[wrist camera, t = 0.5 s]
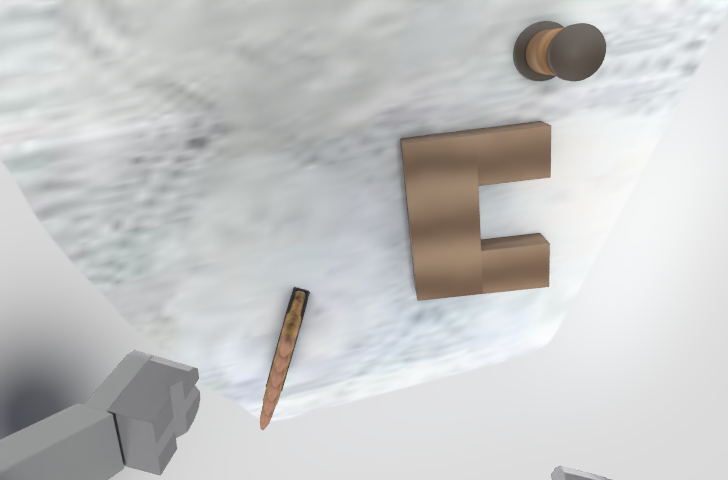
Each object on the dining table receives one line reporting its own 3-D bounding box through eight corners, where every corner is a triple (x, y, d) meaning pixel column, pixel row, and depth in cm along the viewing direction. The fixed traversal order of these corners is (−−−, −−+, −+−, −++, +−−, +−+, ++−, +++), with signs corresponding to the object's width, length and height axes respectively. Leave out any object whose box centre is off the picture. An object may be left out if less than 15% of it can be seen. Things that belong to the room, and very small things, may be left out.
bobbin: (512, 25, 46) (544, 21, 37) (569, 18, 45) (614, 11, 37) (513, 83, 48) (544, 91, 39) (568, 76, 47) (610, 83, 39)
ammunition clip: (288, 365, 60) (269, 438, 49) (273, 362, 60) (251, 434, 49) (309, 291, 56) (294, 351, 45) (294, 286, 56) (275, 346, 45)
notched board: (400, 138, 50) (402, 144, 47) (540, 121, 49) (551, 125, 46) (415, 287, 56) (417, 300, 53) (540, 274, 55) (549, 286, 52)
